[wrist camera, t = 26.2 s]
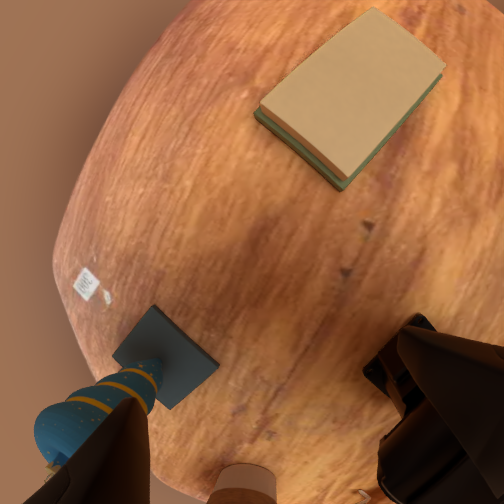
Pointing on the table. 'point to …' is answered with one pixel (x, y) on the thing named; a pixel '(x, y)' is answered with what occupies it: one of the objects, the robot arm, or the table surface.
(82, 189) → the table surface
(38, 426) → the ornament
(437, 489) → the robot arm
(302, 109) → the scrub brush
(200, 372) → the mat
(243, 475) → the coffee cup
